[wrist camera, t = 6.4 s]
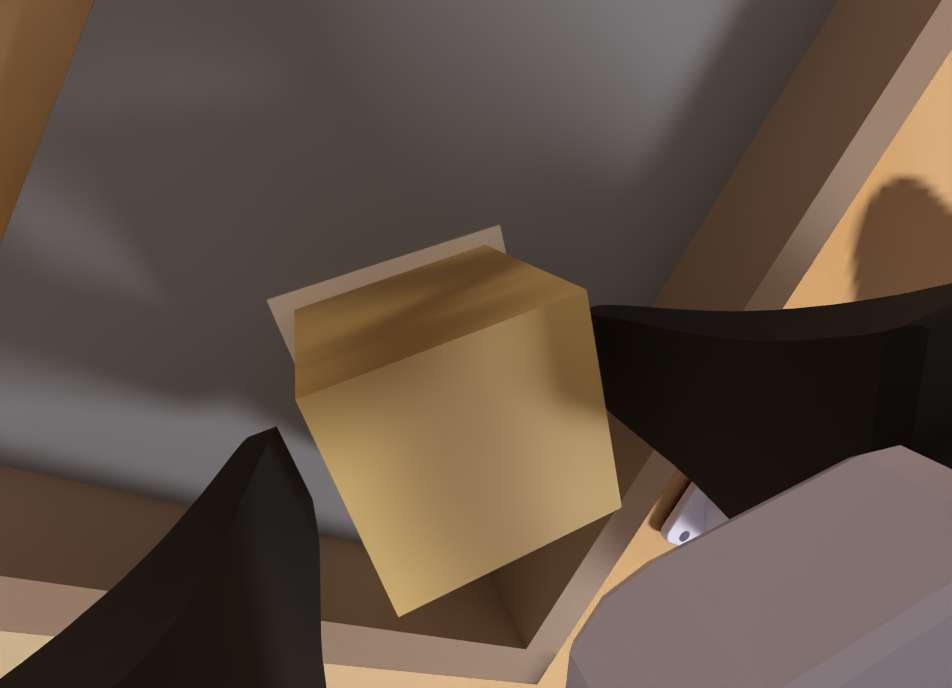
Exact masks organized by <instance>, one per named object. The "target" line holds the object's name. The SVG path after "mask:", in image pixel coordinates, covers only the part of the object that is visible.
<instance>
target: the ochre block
mask: <svg viewBox="0 0 952 688" xmlns="http://www.w3.org/2000/svg"><path fill="white" fill-rule="evenodd" d="M294 326H295V400H296V402H297V404H298V407H299V409H300V411H301V413H302V415H303V417H304V419H305V421H306V423H307V425H308V428H309V430H310V432H311V434H312V436H313V438H314V440H315V442H316V444H317V447H318V449H319V451H320V453H321V455H322V457H323V459H324V461H325V463H326V466H327V468H328V470H329V472H330V474H331V476H332V478H333V480H334V482H335V485H336V487H337V489H338V491H339V493H340V495H341V497H342V499H343V501H344V503H345V506H346V508H347V510H348V512H349V514H350V516H351V518H352V520H353V522H354V525H355V527H356V529H357V531H358V533H359V535H360V537H361V539H362V541H363V544H364V546H365V548H366V550H367V552H368V554H369V556H370V558H371V560H372V562H373V565H374V567H375V569H376V571H377V573H378V575H379V577H380V579H381V581H382V584H383V586H384V588H385V590H386V592H387V594H388V596H389V598H390V600H391V603H392V605H393V607H394V609H395V611H396V613H397V615H398V617H400V616H402V615H404V614H406V613H408V612H410V611H412V610H414V609H416V608H418V607H420V606H422V605H424V604H426V603H428V602H431V601H433V600H435V599H437V598H439V597H441V596H443V595H445V594H447V593H449V592H451V591H453V590H455V589H457V588H459V587H461V586H463V585H465V584H467V583H469V582H471V581H473V580H475V579H477V578H479V577H481V576H483V575H485V574H487V573H490V572H492V571H494V570H496V569H498V568H500V567H502V566H504V565H506V564H508V563H510V562H512V561H514V560H516V559H518V558H520V557H522V556H524V555H526V554H528V553H530V552H532V551H534V550H536V549H538V548H540V547H542V546H544V545H546V544H548V543H551V542H553V541H555V540H557V539H559V538H561V537H563V536H565V535H567V534H569V533H571V532H573V531H575V530H577V529H579V528H581V527H583V526H585V525H587V524H589V523H591V522H593V521H595V520H597V519H599V518H601V517H603V516H605V515H607V514H610V513H612V512H614V511H616V510H618V509H620V508H622V506H621V499H620V493H619V487H618V481H617V475H616V468H615V462H614V456H613V450H612V444H611V438H610V431H609V425H608V419H607V413H606V407H605V400H604V394H603V388H602V382H601V376H600V369H599V363H598V357H597V351H596V345H595V339H594V332H593V326H592V320H591V314H590V308H589V301H588V295H587V290H586V289H584V288H582V287H579V286H577V285H575V284H573V283H570V282H568V281H566V280H564V279H561V278H559V277H557V276H555V275H552V274H550V273H548V272H546V271H543V270H541V269H539V268H537V267H534V266H532V265H530V264H527V263H525V262H523V261H521V260H518V259H516V258H514V257H512V256H509V255H507V254H505V253H503V252H500V251H498V250H496V249H494V248H491V247H489V246H487V245H483V246H480V247H477V248H474V249H471V250H468V251H465V252H462V253H460V254H457V255H454V256H451V257H448V258H445V259H442V260H439V261H436V262H433V263H430V264H427V265H424V266H421V267H418V268H415V269H412V270H410V271H407V272H404V273H401V274H398V275H395V276H392V277H389V278H386V279H383V280H380V281H377V282H374V283H371V284H368V285H365V286H362V287H360V288H357V289H354V290H351V291H348V292H345V293H342V294H339V295H336V296H333V297H330V298H327V299H324V300H321V301H318V302H315V303H312V304H309V305H307V306H304V307H301V308H298V309H295V310H294Z"/></svg>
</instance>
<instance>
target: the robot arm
mask: <svg viewBox="0 0 952 688" xmlns="http://www.w3.org/2000/svg"><path fill="white" fill-rule="evenodd" d="M590 314H591V320H592V326H593V332H594V339H595V345H596V351H597V357H598V363H599V369H600V376H601V382H602V388H603V394H604V400H605V407H606V409H607V410H608V411H609V412H610V413H611V414H612V415H613V416H615V417H616V418H617V419H618V420H619V421H621V422H622V423H623V424H624V425H625V426H627V427H628V428H629V429H630V430H631V431H633V432H634V433H635V434H636V435H637V436H639V437H640V438H641V439H642V440H644V441H645V442H646V443H647V444H648V445H650V446H651V447H652V448H653V449H655V450H656V451H657V452H658V453H660V454H661V455H662V456H663V457H664V458H666V459H667V460H668V461H669V462H671V463H672V464H673V465H674V466H676V467H677V468H678V469H679V470H680V471H681V472H682V473H683V474H685V475H686V476H687V477H688V478H689V479H690V480H691V481H692V482H691V484H690V485H689V487H688V488H687V490H686V491H685V493H684V494H683V496H682V497H681V499H680V500H679V502H678V503H677V505H676V506H675V508H674V509H673V511H672V512H671V514H670V515H669V517H668V518H667V520H666V521H665V523H664V524H663V526H662V528H661V535H662V537H663V538H664V539H665V540H666V541H668V542H669V543H672V544H675V545H678V546H677V547H675V548H673V549H671V550H669V551H667V552H666V553H664V554H662V555H660V556H658V557H656V558H654V559H652V560H650V561H648V562H647V563H645V564H644V565H643V566H642V567H640V568H639V569H638V570H636V571H635V572H634V573H632V574H631V575H630V576H628V577H627V578H626V579H624V580H623V581H622V582H621V583H619V584H618V585H617V586H615V587H614V588H613V589H611V590H610V591H609V592H607V593H606V594H605V595H603V597H602V598H601V600H600V601H599V603H598V604H597V606H596V607H595V609H594V610H593V612H592V613H591V615H590V616H589V618H588V619H587V621H586V622H585V624H584V626H583V627H582V629H581V630H580V632H579V633H578V635H577V636H576V638H575V639H574V641H573V644H572V647H571V650H570V654H569V663H568V673H567V682H566V688H952V283H951V284H947V285H942V286H937V287H933V288H928V289H923V290H919V291H915V292H910V293H904V294H899V295H893V296H888V297H881V298H875V299H869V300H863V301H856V302H849V303H842V304H834V305H825V306H815V307H805V308H795V309H781V310H758V311H707V310H684V309H669V308H655V307H642V306H628V305H597V306H594V307H591V308H590ZM0 688H326V681H325V673H324V665H323V656H322V640H321V591H320V544H319V533H318V527H317V520H316V515H315V509H314V504H313V499H312V497H311V495H310V493H309V491H308V489H307V487H306V485H305V482H304V480H303V478H302V476H301V474H300V472H299V470H298V468H297V466H296V464H295V462H294V460H293V458H292V456H291V454H290V452H289V450H288V448H287V446H286V444H285V442H284V440H283V438H282V436H281V434H280V432H279V430H278V428H277V426H276V427H273V428H270V429H268V430H265V431H262V432H260V433H257V434H255V435H252V436H249V437H247V438H246V439H245V440H244V441H243V442H242V443H241V445H240V446H239V447H238V448H237V449H236V451H235V452H234V453H233V454H232V456H231V457H230V458H229V459H228V461H227V462H226V463H225V465H224V466H223V467H222V469H221V470H220V471H219V472H218V474H217V475H216V476H215V477H214V479H213V480H212V481H211V482H210V484H209V485H208V486H207V488H206V489H205V490H204V491H203V493H202V494H201V495H200V496H199V497H198V499H197V500H196V501H195V502H194V503H193V504H192V506H191V507H190V508H189V509H188V510H187V511H186V513H185V514H184V515H183V516H182V517H181V518H180V520H179V521H178V522H177V523H176V524H175V525H174V526H173V528H172V529H171V530H170V531H169V532H168V533H167V534H166V536H165V537H164V538H163V539H162V540H161V541H160V542H159V543H158V544H157V545H156V546H155V547H154V548H153V549H152V550H151V551H150V552H149V553H148V554H147V555H146V556H145V557H144V558H143V559H142V560H141V561H140V562H139V563H138V564H137V565H136V566H135V567H134V568H133V569H132V570H131V571H130V572H129V573H128V574H127V575H126V576H125V577H124V578H123V579H122V580H120V581H119V582H118V583H117V584H116V585H115V586H114V587H113V588H112V589H110V590H109V591H108V592H107V593H106V594H105V595H103V596H102V597H101V598H100V599H99V600H98V601H97V602H95V603H94V604H93V605H92V606H91V607H90V608H88V609H87V610H86V611H85V612H84V613H83V614H81V615H80V616H79V617H78V618H77V619H76V620H74V621H73V622H72V623H71V624H70V625H69V626H67V627H66V628H65V629H64V630H63V631H62V632H60V633H59V634H58V635H57V636H55V637H54V638H53V639H52V640H50V641H49V642H48V643H47V644H45V645H44V646H43V647H41V648H40V649H39V650H38V651H36V652H35V653H34V654H32V655H31V656H30V657H29V658H27V659H26V660H25V661H23V662H22V663H21V664H20V665H18V666H17V667H15V668H14V669H13V670H11V671H10V672H9V673H7V674H6V675H5V676H3V677H2V678H1V679H0Z"/></svg>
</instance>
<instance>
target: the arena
mask: <svg viewBox="0 0 952 688" xmlns="http://www.w3.org/2000/svg"><path fill="white" fill-rule="evenodd" d="M951 50H952V0H94V3H93V5H92V8H91V11H90V13H89V16H88V18H87V21H86V24H85V26H84V29H83V31H82V34H81V37H80V39H79V42H78V44H77V47H76V50H75V52H74V55H73V57H72V60H71V63H70V65H69V68H68V70H67V73H66V76H65V78H64V81H63V83H62V86H61V89H60V91H59V94H58V96H57V99H56V101H55V104H54V107H53V109H52V112H51V114H50V117H49V120H48V122H47V125H46V127H45V130H44V133H43V135H42V138H41V140H40V143H39V146H38V148H37V151H36V153H35V156H34V159H33V161H32V164H31V166H30V169H29V172H28V174H27V177H26V179H25V182H24V185H23V187H22V190H21V192H20V195H19V197H18V200H17V203H16V205H15V208H14V210H13V213H12V216H11V218H10V221H9V223H8V226H7V229H6V231H5V234H4V236H3V239H2V242H1V244H0V631H6V632H16V633H26V634H36V635H46V636H57V635H58V634H59V633H60V632H62V631H63V630H64V629H65V628H66V627H67V626H69V625H70V624H71V623H72V622H73V621H74V620H76V619H77V618H78V617H79V616H80V615H81V614H83V613H84V612H85V611H86V610H87V609H88V608H90V607H91V606H92V605H93V604H94V603H95V602H97V601H98V600H99V599H100V598H101V597H102V596H103V595H105V594H106V593H107V592H108V591H109V590H110V589H112V588H113V587H114V586H115V585H116V584H117V583H118V582H119V581H120V580H122V579H123V578H124V577H125V576H126V575H127V574H128V573H129V572H130V571H131V570H132V569H133V568H134V567H135V566H136V565H137V564H138V563H139V562H140V561H141V560H142V559H143V558H144V557H145V556H146V555H147V554H148V553H149V552H150V551H151V550H152V549H153V548H154V547H155V546H156V545H157V544H158V543H159V542H160V541H161V540H162V539H163V538H164V537H165V536H166V534H167V533H168V532H169V531H170V530H171V529H172V528H173V526H174V525H175V524H176V523H177V522H178V521H179V520H180V518H181V517H182V516H183V515H184V514H185V513H186V511H187V510H188V509H189V508H190V507H191V506H192V504H193V503H194V502H195V501H196V500H197V499H198V497H199V496H200V495H201V494H202V493H203V491H204V490H205V489H206V488H207V486H208V485H209V484H210V482H211V481H212V480H213V479H214V477H215V476H216V475H217V474H218V472H219V471H220V470H221V469H222V467H223V466H224V465H225V463H226V462H227V461H228V459H229V458H230V457H231V456H232V454H233V453H234V452H235V451H236V449H237V448H238V447H239V446H240V445H241V443H242V442H243V441H244V440H245V439H246V438H247V437H249V436H252V435H255V434H257V433H260V432H262V431H265V430H268V429H270V428H273V427H276V426H277V428H278V430H279V432H280V434H281V436H282V438H283V440H284V442H285V444H286V446H287V448H288V450H289V452H290V454H291V456H292V458H293V460H294V462H295V464H296V466H297V468H298V470H299V472H300V474H301V476H302V478H303V480H304V482H305V485H306V487H307V489H308V491H309V493H310V495H311V497H312V499H313V504H314V509H315V515H316V520H317V527H318V533H319V544H320V591H321V640H322V656H323V663H326V664H336V665H346V666H356V667H366V668H376V669H386V670H396V671H406V672H416V673H426V674H436V675H446V676H456V677H466V678H476V679H486V680H496V681H506V682H516V683H526V684H536V685H537V684H538V682H539V681H540V679H541V678H542V676H543V675H544V673H545V672H546V670H547V669H548V667H549V665H550V664H551V662H552V661H553V659H554V658H555V656H556V655H557V653H558V652H559V650H560V649H561V647H562V646H563V644H564V643H565V641H566V639H567V638H568V636H569V635H570V633H571V632H572V630H573V629H574V627H575V626H576V624H577V623H578V621H579V620H580V618H581V616H582V615H583V613H584V612H585V610H586V609H587V607H588V606H589V604H590V603H591V601H592V600H593V598H594V597H595V595H596V593H597V592H598V590H599V589H600V587H601V586H602V584H603V583H604V581H605V580H606V578H607V577H608V575H609V574H610V572H611V571H612V569H613V567H614V566H615V564H616V563H617V561H618V560H619V558H620V557H621V555H622V554H623V552H624V551H625V549H626V548H627V546H628V544H629V543H630V541H631V540H632V538H633V537H634V535H635V534H636V532H637V531H638V529H639V528H640V526H641V525H642V523H643V521H644V520H645V518H646V517H647V515H648V514H649V512H650V511H651V509H652V508H653V506H654V505H655V503H656V502H657V500H658V499H659V497H660V495H661V494H662V492H663V491H664V489H665V488H666V486H667V485H668V483H669V482H670V480H671V479H672V477H673V476H674V474H675V472H676V471H677V469H678V468H677V467H676V466H674V465H673V464H672V463H671V462H669V461H668V460H667V459H666V458H664V457H663V456H662V455H661V454H660V453H658V452H657V451H656V450H655V449H653V448H652V447H651V446H650V445H648V444H647V443H646V442H645V441H644V440H642V439H641V438H640V437H639V436H637V435H636V434H635V433H634V432H633V431H631V430H630V429H629V428H628V427H627V426H625V425H624V424H623V423H622V422H621V421H619V420H618V419H617V418H616V417H615V416H613V415H612V414H611V413H610V412H609V411H608V410H607V409H606V413H607V419H608V425H609V431H610V438H611V444H612V450H613V456H614V462H615V468H616V475H617V481H618V487H619V493H620V499H621V506H622V508H620V509H618V510H616V511H614V512H612V513H610V514H607V515H605V516H603V517H601V518H599V519H597V520H595V521H593V522H591V523H589V524H587V525H585V526H583V527H581V528H579V529H577V530H575V531H573V532H571V533H569V534H567V535H565V536H563V537H561V538H559V539H557V540H555V541H553V542H551V543H548V544H546V545H544V546H542V547H540V548H538V549H536V550H534V551H532V552H530V553H528V554H526V555H524V556H522V557H520V558H518V559H516V560H514V561H512V562H510V563H508V564H506V565H504V566H502V567H500V568H498V569H496V570H494V571H492V572H490V573H487V574H485V575H483V576H481V577H479V578H477V579H475V580H473V581H471V582H469V583H467V584H465V585H463V586H461V587H459V588H457V589H455V590H453V591H451V592H449V593H447V594H445V595H443V596H441V597H439V598H437V599H435V600H433V601H431V602H428V603H426V604H424V605H422V606H420V607H418V608H416V609H414V610H412V611H410V612H408V613H406V614H404V615H402V616H400V617H398V615H397V613H396V611H395V609H394V607H393V605H392V603H391V600H390V598H389V596H388V594H387V592H386V590H385V588H384V586H383V584H382V581H381V579H380V577H379V575H378V573H377V571H376V569H375V567H374V565H373V562H372V560H371V558H370V556H369V554H368V552H367V550H366V548H365V546H364V544H363V541H362V539H361V537H360V535H359V533H358V531H357V529H356V527H355V525H354V522H353V520H352V518H351V516H350V514H349V512H348V510H347V508H346V506H345V503H344V501H343V499H342V497H341V495H340V493H339V491H338V489H337V487H336V485H335V482H334V480H333V478H332V476H331V474H330V472H329V470H328V468H327V466H326V463H325V461H324V459H323V457H322V455H321V453H320V451H319V449H318V447H317V444H316V442H315V440H314V438H313V436H312V434H311V432H310V430H309V428H308V425H307V423H306V421H305V419H304V417H303V415H302V413H301V411H300V409H299V407H298V404H297V402H296V400H295V326H294V310H295V309H298V308H301V307H304V306H307V305H309V304H312V303H315V302H318V301H321V300H324V299H327V298H330V297H333V296H336V295H339V294H342V293H345V292H348V291H351V290H354V289H357V288H360V287H362V286H365V285H368V284H371V283H374V282H377V281H380V280H383V279H386V278H389V277H392V276H395V275H398V274H401V273H404V272H407V271H410V270H412V269H415V268H418V267H421V266H424V265H427V264H430V263H433V262H436V261H439V260H442V259H445V258H448V257H451V256H454V255H457V254H460V253H462V252H465V251H468V250H471V249H474V248H477V247H480V246H483V245H487V246H489V247H491V248H494V249H496V250H498V251H500V252H503V253H505V254H507V255H509V256H512V257H514V258H516V259H518V260H521V261H523V262H525V263H527V264H530V265H532V266H534V267H537V268H539V269H541V270H543V271H546V272H548V273H550V274H552V275H555V276H557V277H559V278H561V279H564V280H566V281H568V282H570V283H573V284H575V285H577V286H579V287H582V288H584V289H586V290H587V295H588V301H589V308H591V307H594V306H597V305H628V306H642V307H655V308H669V309H684V310H707V311H758V310H781V309H783V307H784V305H785V304H786V302H787V301H788V299H789V298H790V296H791V295H792V293H793V292H794V290H795V289H796V287H797V286H798V284H799V283H800V281H801V279H802V278H803V276H804V275H805V273H806V272H807V270H808V269H809V267H810V266H811V264H812V263H813V261H814V260H815V258H816V256H817V255H818V253H819V252H820V250H821V249H822V247H823V246H824V244H825V243H826V241H827V240H828V238H829V237H830V235H831V233H832V232H833V230H834V229H835V227H836V226H837V224H838V223H839V221H840V220H841V218H842V217H843V215H844V214H845V212H846V211H847V209H848V207H849V206H850V204H851V203H852V201H853V200H854V198H855V197H856V195H857V194H858V192H859V191H860V189H861V188H862V186H863V184H864V183H865V181H866V180H867V178H868V177H869V175H870V174H871V172H872V171H873V169H874V168H875V166H876V165H877V163H878V161H879V160H880V158H881V157H882V155H883V154H884V152H885V151H886V149H887V148H888V146H889V145H890V143H891V142H892V140H893V139H894V137H895V135H896V134H897V132H898V131H899V129H900V128H901V126H902V125H903V123H904V122H905V120H906V119H907V117H908V116H909V114H910V112H911V111H912V109H913V108H914V106H915V105H916V103H917V102H918V100H919V99H920V97H921V96H922V94H923V93H924V91H925V89H926V88H927V86H928V85H929V83H930V82H931V80H932V79H933V77H934V76H935V74H936V73H937V71H938V70H939V68H940V67H941V65H942V63H943V62H944V60H945V59H946V57H947V56H948V54H949V53H950V51H951Z"/></svg>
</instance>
